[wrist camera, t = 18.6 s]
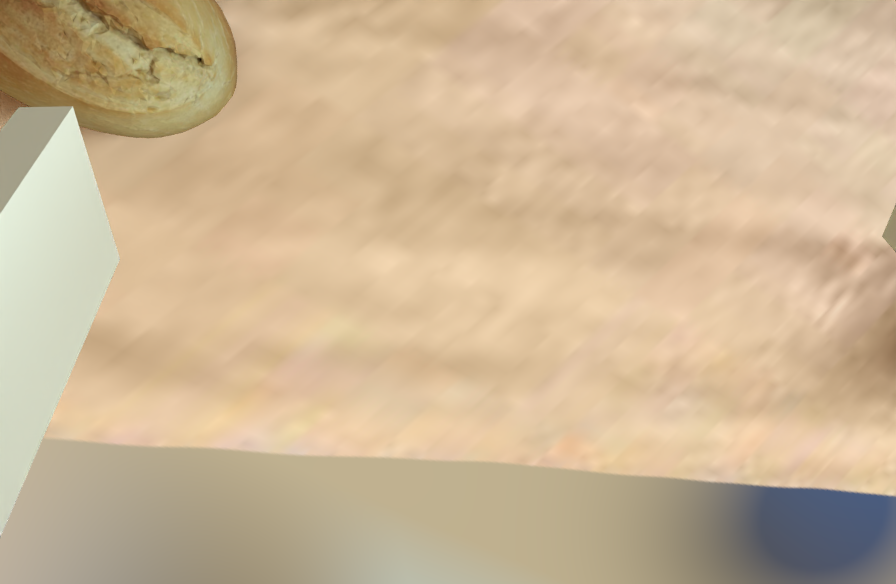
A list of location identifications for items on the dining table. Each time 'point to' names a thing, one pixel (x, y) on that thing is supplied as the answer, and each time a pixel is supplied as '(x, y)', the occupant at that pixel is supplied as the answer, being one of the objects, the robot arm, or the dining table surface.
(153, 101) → the bread roll
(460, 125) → the dining table surface
